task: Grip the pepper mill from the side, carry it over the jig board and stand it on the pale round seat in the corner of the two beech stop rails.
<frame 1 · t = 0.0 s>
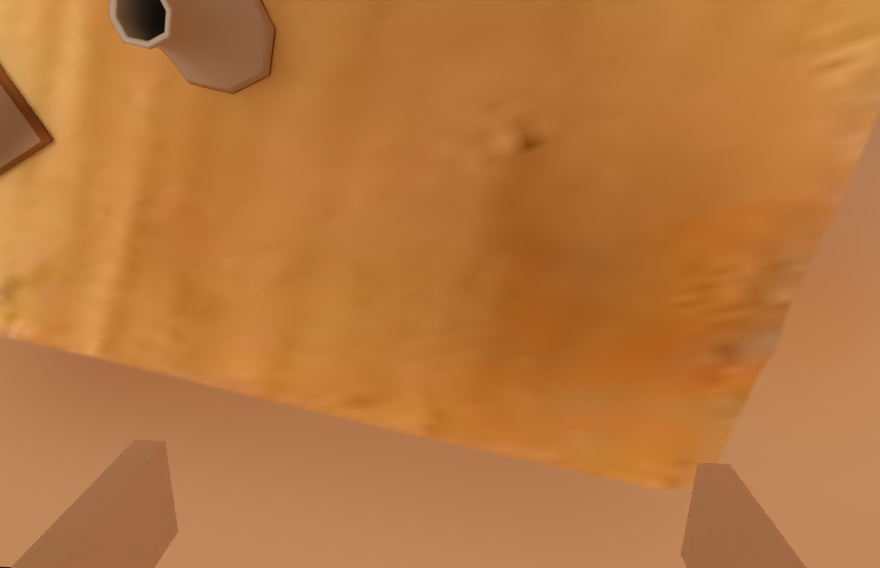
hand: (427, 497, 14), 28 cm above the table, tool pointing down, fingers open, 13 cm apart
flask: (223, 36, 38), on the table
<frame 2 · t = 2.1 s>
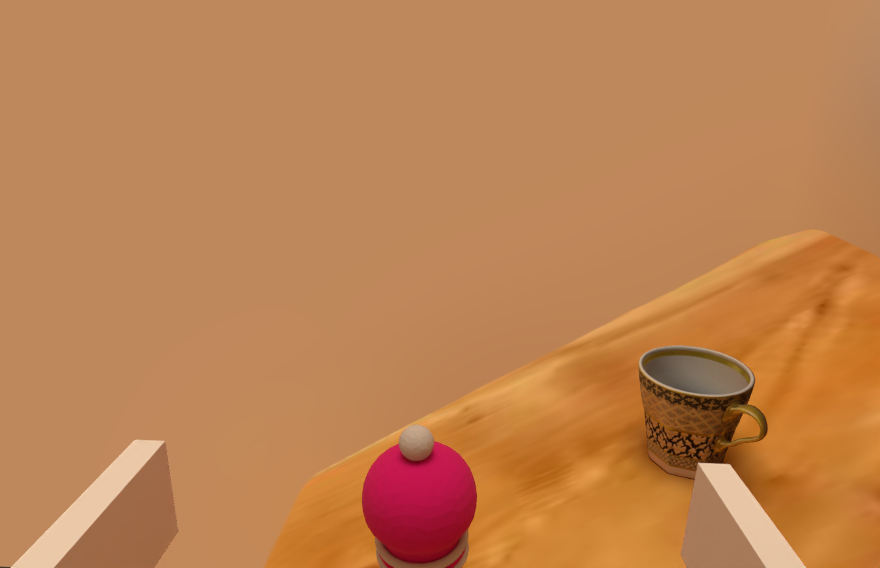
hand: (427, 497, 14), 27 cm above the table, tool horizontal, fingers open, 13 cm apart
ceramic cup: (694, 468, 56), on the table
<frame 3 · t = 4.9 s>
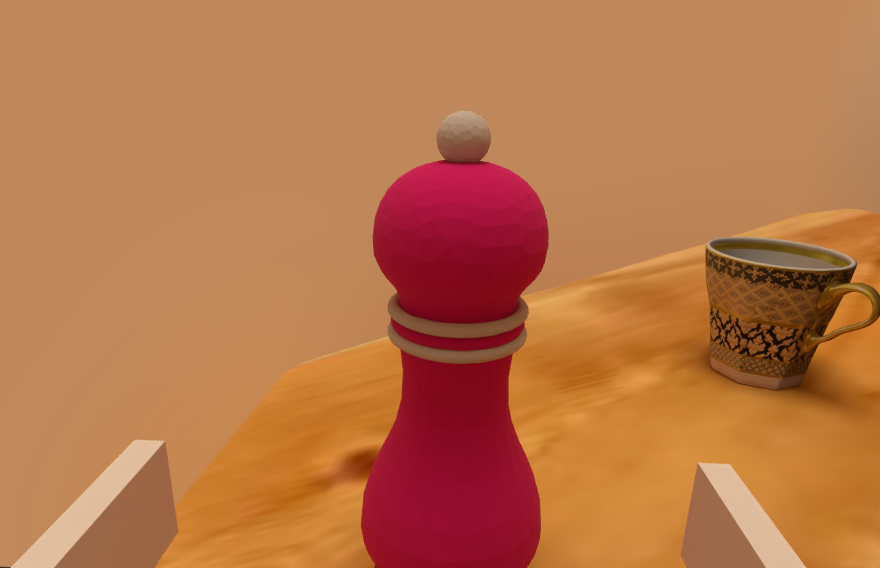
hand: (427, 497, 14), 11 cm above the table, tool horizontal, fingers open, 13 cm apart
ceramic cup: (768, 380, 45), on the table
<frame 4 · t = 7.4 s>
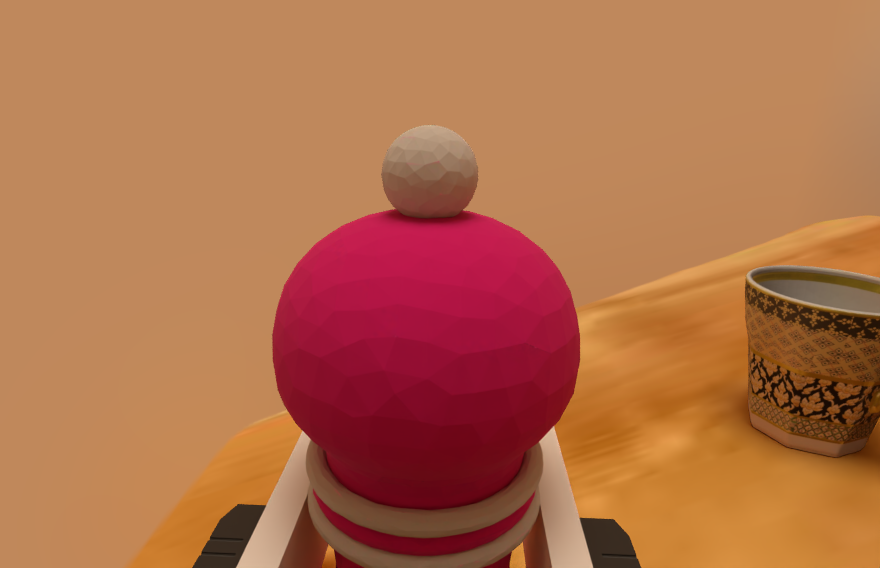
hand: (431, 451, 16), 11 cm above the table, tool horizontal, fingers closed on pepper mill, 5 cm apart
ceramic cup: (822, 442, 37), on the table
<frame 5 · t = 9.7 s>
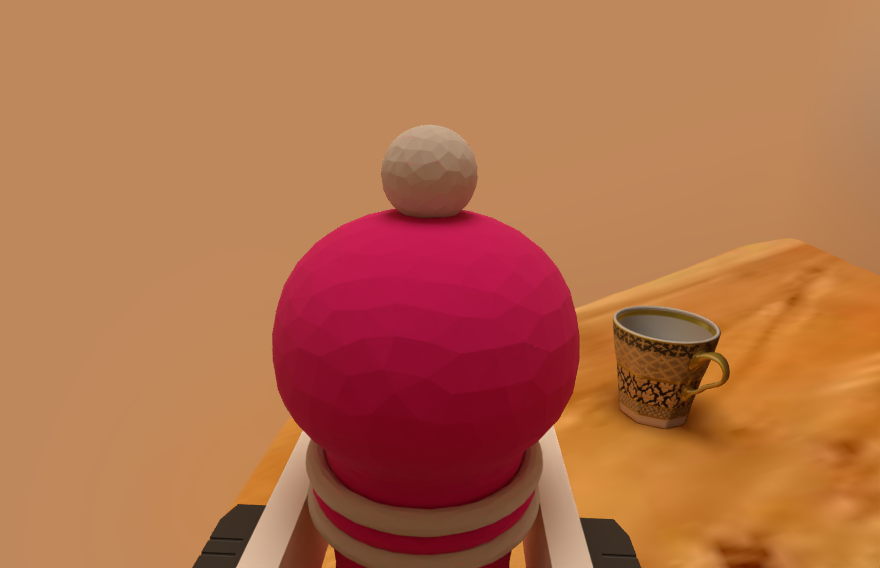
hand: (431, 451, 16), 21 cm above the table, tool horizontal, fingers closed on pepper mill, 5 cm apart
ceramic cup: (662, 420, 59), on the table
when the fingers open (13 cm above the table, at t = 12.0 s): pepper mill stays where it is, resting on jig board.
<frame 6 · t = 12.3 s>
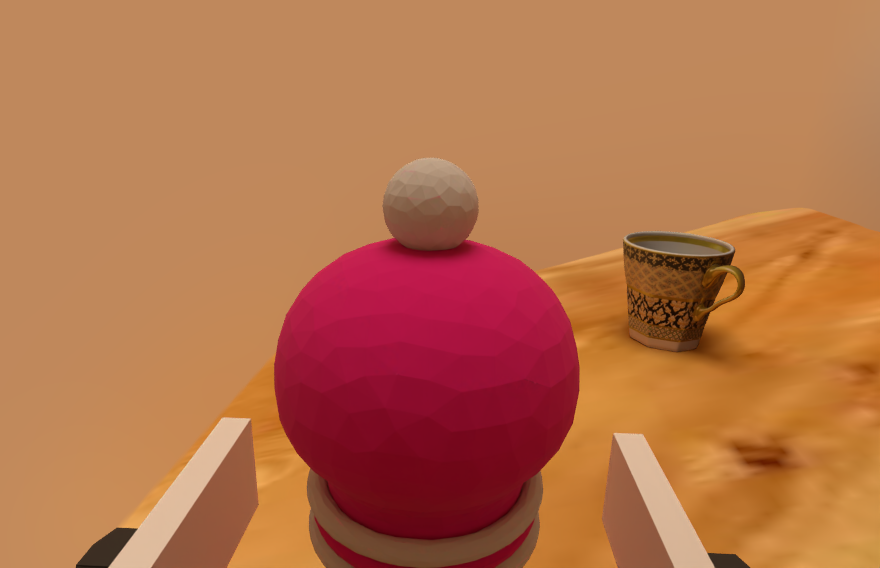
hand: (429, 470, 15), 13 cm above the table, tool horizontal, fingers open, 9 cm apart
ceramic cup: (673, 345, 57), on the table
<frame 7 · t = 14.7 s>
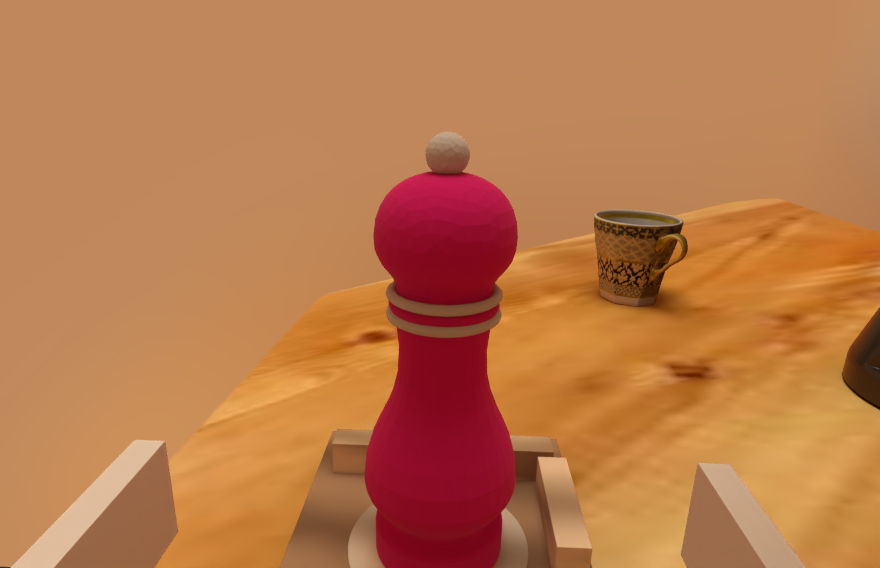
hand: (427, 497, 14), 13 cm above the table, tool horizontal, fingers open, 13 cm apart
pepper mill: (438, 545, 29), point 1 cm above the table, touching jig board
ceramic cup: (635, 302, 69), on the table
jig board: (437, 564, 29), on the table
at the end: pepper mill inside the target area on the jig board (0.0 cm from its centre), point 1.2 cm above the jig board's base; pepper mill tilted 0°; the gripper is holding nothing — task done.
